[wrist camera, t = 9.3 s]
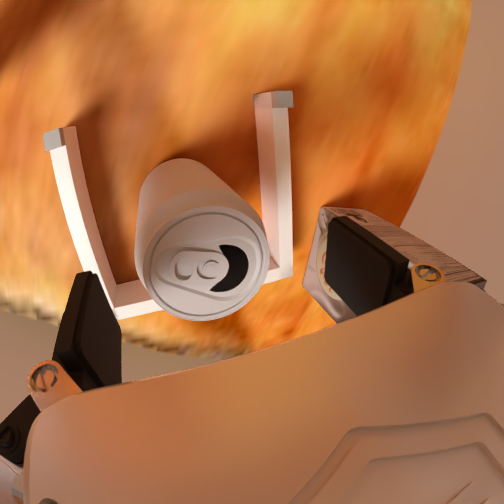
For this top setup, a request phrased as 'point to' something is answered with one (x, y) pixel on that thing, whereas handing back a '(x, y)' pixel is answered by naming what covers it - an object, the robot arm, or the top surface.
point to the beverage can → (198, 242)
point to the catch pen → (272, 199)
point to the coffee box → (389, 234)
